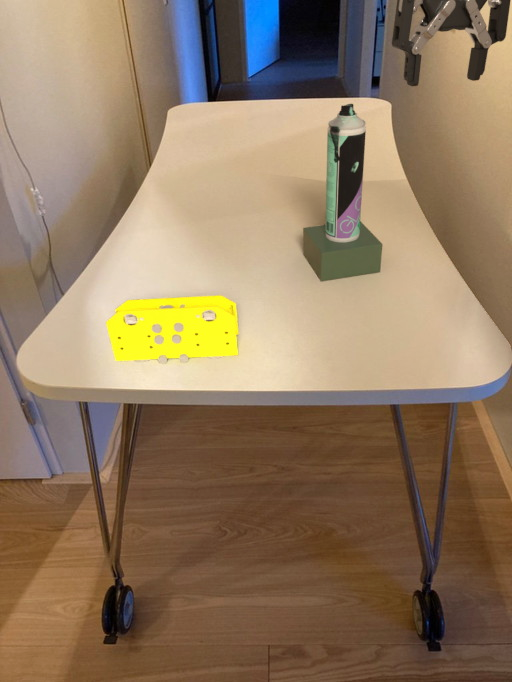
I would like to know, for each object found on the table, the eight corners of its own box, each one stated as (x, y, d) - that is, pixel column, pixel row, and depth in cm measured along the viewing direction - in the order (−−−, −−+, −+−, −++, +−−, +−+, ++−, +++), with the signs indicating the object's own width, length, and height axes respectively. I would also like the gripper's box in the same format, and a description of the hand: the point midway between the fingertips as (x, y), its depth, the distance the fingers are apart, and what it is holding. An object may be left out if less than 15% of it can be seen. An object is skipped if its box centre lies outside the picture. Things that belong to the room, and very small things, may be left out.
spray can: (353, 244, 86) (360, 109, 74) (320, 239, 88) (322, 108, 77) (363, 230, 90) (371, 100, 78) (331, 226, 92) (335, 99, 80)
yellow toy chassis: (116, 368, 72) (102, 314, 67) (124, 342, 76) (111, 290, 71) (238, 362, 71) (233, 308, 66) (239, 337, 76) (234, 284, 71)
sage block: (380, 272, 89) (382, 243, 86) (320, 281, 87) (321, 253, 84) (357, 246, 97) (359, 219, 94) (303, 254, 95) (303, 227, 92)
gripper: (417, -68, 60) (402, 93, 69) (539, -76, 61) (508, 82, 71) (391, -65, 66) (381, 82, 75) (502, -72, 67) (479, 73, 77)
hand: (443, 82), depth 73 cm, fingers open, 8 cm apart
